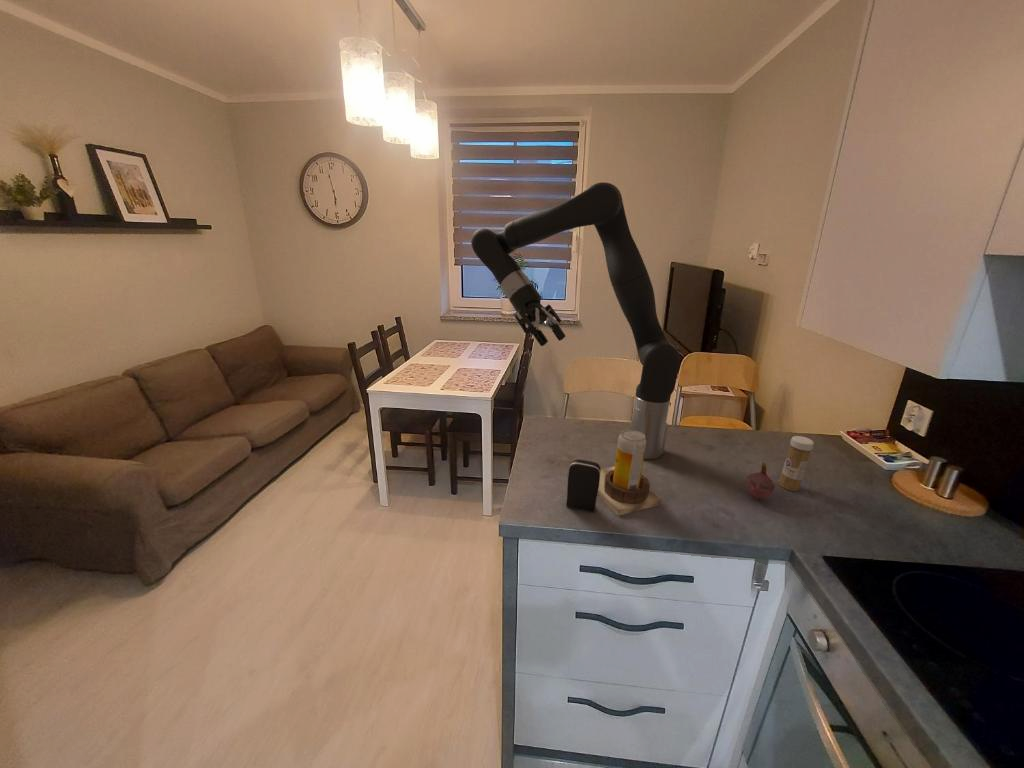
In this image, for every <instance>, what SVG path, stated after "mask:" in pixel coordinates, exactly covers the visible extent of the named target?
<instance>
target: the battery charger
mask: <svg viewBox="0 0 1024 768" xmlns="http://www.w3.org/2000/svg"><path fill="white" fill-rule="evenodd" d="M601 469H602V468H601V466H600V464H599V463H597V462H594V461H589V460H585V459H579V458H575V459H574V460H572V462H571V463H570V465H569V467H568V474H567V482H566V483H567V485H566V488H567V489H566V491H567V492H566V503H565V506H566V507H569V508H571V509H576V510H580V511H585V512H589V513H595V512H596V509H597V500H598V490H599V483H600V473H601Z"/></svg>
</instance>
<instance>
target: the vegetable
mask: <svg viewBox="0 0 1024 768" xmlns="http://www.w3.org/2000/svg"><path fill="white" fill-rule="evenodd" d="M760 469H761V470H760V472H755V473H754V472H753V473H751V474H749V475H748V476H746V479H745V487H746V489H747V490H748V493H750V495H751V497H752V498H753V499H755V500H761V499H768V498H770V497H771V496H772V495H773V494H774V492H775V489H776V488H775V487H776V486H775V483H774V481H773V479H772V478H771V477H770V476H768V474H767V463H765V461H762V463H761V468H760Z"/></svg>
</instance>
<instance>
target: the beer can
mask: <svg viewBox="0 0 1024 768" xmlns="http://www.w3.org/2000/svg"><path fill="white" fill-rule="evenodd" d="M645 447H646V439H645V435H644V434H643V433H641V432H638V431H635V430H630V429H625V430H623V431H621V432H620V433H619V435H618V439H617V447H616V453H615V454H616V455H615V462H614V466H615V468H614V476H613V484H614V485H615V486H617V487H620V488H622V489H625V490H639V484H640V478H641V474H642V470H643V465H644V460H645V459H644V453H645Z"/></svg>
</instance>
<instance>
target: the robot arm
mask: <svg viewBox="0 0 1024 768" xmlns="http://www.w3.org/2000/svg"><path fill="white" fill-rule="evenodd" d="M587 226H594V227H595V230H596V232H597V234H598V236H599V239H600V241H601V244H602V247H603V249H604V255H605V263H606V267H607V272H608V277H609V281H610V283H611V286H612V289H613V292H614V294H615V297H616V299H617V301H618V304H619V306H620V309H621V311H622V313H623V315H624V317H625V320H626V321H627V322H628V325H629V326H630V329H631V332H632V335H633V339H634V342H635V347H636V351H637V356H638V359H639V363H640V364H641V365H642V369H641V376H640V381H639V384H637V386H636V389H635V395H634V402H633V410H632V417H631V424H630V429H629V430H635V431H638V432H641V433H643V434H644V435H645V439H646V447H645V453H644V459H643V460H656V459H658V458H660V457H661V456H662V455H664V452H665V447H666V442H667V435H668V430H669V424H668V422H667V419H668V413H669V407H670V401H671V396H672V394H673V393H674V391H675V389H676V388H675V387H676V383H677V380H678V379H677V378H678V374H679V369H680V364H681V362H680V361H681V360H680V353H679V351H678V350H677V348H676V347H675V346H674V345H673V344H672V343H670V342H669V340H668V339H667V336H666V334H665V333H664V330H663V329H662V327H661V324H660V321H659V319H658V318H659V317H658V314H657V307H656V305H657V304H656V297H655V291H654V288H653V284H652V281H651V278H650V274H649V272H648V269H647V267H646V265H645V261H644V260H643V257H642V255H641V252H640V250H639V248H638V246H637V244H636V242H635V240H634V237H633V236H632V233H631V230H630V227H629V223H628V219H627V216H626V211H625V206H624V202H623V197H622V193H621V191H620V190H619V188H618V186H615V185H614V184H612V183H610V182H604V181H603V182H597V183H594V184H592V185H590V186H589V187H588V188H587V189H585V190H584V191H582V192H581V193H579V194H577V195H575V196H574V197H572V198H570V199H568V200H566V201H564V202H562V203H560V204H557V205H554V206H552V207H549V208H546V209H543V210H539V211H536V212H533V213H530V214H527V215H525V216H522V217H520V218H517V219H515V220H511V221H509V222H508V223H507V224H505V226H504V228H503V230H502V231H500V232H494V231H492V230H491V229H489V228H479V229H477V230H475V231H474V232H473V234H472V236H471V242H470V244H471V248H472V250H473V252H474V253H475V256H477V258H478V259H479V260H480V261H481V262H482V263H483V265H484V266H485V267H486V268H487V269H488V270H489V271H490V272H491V273H492V275H493V277H494V278H495V280H496V281H497V283H498V284H499V286H500V287H501V289H502V291H503V293H504V295H505V296H506V298H507V299H508V301H509V302H510V304H511V306H512V307H513V308H514V310H515V312H516V314H515V315H514V317H515V319H516V321H517V322H518V324H519V326H520V327H521V329H522V330H523V332H524V333H525V335H528V334H530V335H531V336H533V337H534V338H535V340H536V341H537V343H538V344H539V345H540V346H541V347H543V346H546V345H547V344H548V338H547V336H546V335H545V334H544V332H543V331H542V330H541V329H540V325H542V326H544V327H547V328H549V329H550V330H551V332H553V334H554V336H555V338H556V339H557V340H558V341H560V342H561V341H563V340H564V339H565V338H566V334H565V333H564V331H563V329H562V327H560V324H561V322H562V319H561V318H560V316H559V315H558V314H557V313H556V311H555V310H554V308H553V307H552V305H551V304H547V305H546V306H543V304H541V301H542V296H541V294H540V293H539V292H538V290H537V289H536V287H535V286H534V284H533V283H532V281H531V280H530V279H529V277H528V276H527V275H526V274H525V272H524V271H523V269H522V268H521V267H520V266H519V264H518V263H517V261H516V260H515V259H514V258H513V256H512V255H509V254H511V253H513V252H515V251H516V250H518V249H521V248H524V247H527V246H530V245H532V244H536V243H538V242H542V241H543V240H545V239H548V238H550V237H552V236H554V235H557V234H560V233H564V232H566V231H569V230H572V229H576V228H581V227H587ZM526 325H527V326H526Z"/></svg>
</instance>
